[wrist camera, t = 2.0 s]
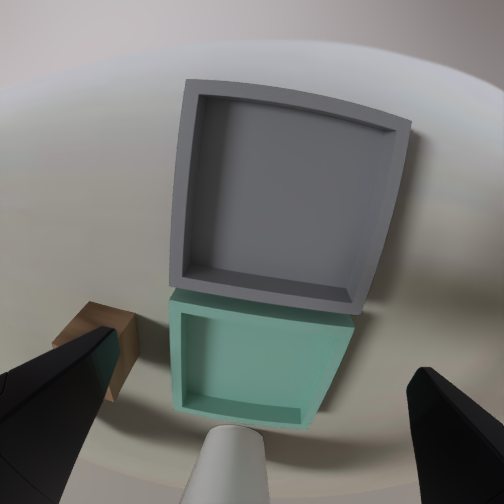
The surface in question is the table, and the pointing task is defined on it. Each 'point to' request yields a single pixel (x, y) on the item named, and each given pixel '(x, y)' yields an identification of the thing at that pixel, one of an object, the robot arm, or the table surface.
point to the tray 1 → (282, 195)
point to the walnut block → (126, 331)
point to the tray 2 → (252, 358)
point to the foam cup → (229, 469)
